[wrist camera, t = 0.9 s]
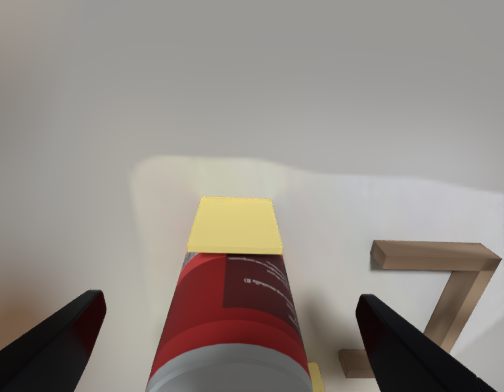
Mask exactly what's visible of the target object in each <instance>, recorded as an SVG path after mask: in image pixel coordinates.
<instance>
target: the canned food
mask: <svg viewBox="0 0 504 392" xmlns="http://www.w3.org/2000/svg"><path fill="white" fill-rule="evenodd" d="M145 392H313V387H312V381H311V377H310V372H309V368H308V363H307V357H306V353H305V349H304V345H303V340H302V336H301V332H300V328H299V324H298V319H297V315H296V311H295V307H294V303H293V298H292V294H291V290H290V286H289V282H288V277H287V273H286V269H285V265H284V260H283V256H282V254H247V253H207V252H187V254H186V256H185V260H184V263H183V266H182V269H181V273H180V276H179V279H178V283H177V286H176V289H175V292H174V296H173V299H172V302H171V306H170V309H169V312H168V315H167V319H166V322H165V325H164V328H163V332H162V335H161V338H160V342H159V345H158V348H157V351H156V355H155V358H154V361H153V365H152V369H151V373H150V376H149V380H148V383H147V386H146V390H145Z"/></svg>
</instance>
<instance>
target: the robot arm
mask: <svg viewBox="0 0 504 392" xmlns="http://www.w3.org/2000/svg"><path fill="white" fill-rule="evenodd" d="M105 315H106V303H105V299H104V295H103V292H102V291H101V290H88V291H86V292H85V293H83V294H82V295H80V296H79V297H77V298H76V299H74V300H73V301H71V302H70V303H68V304H67V305H66V306H64V307H63V308H61V309H60V310H58V311H57V312H55V313H54V314H53V315H51V316H50V317H48V318H47V319H45V320H44V321H42V322H41V323H40V324H38V325H37V326H35V327H34V328H32V329H31V330H29V331H28V332H27V333H25V334H23V335H22V336H21V337H19V338H18V339H16V340H15V341H13V342H12V343H10V344H9V345H8V346H6V347H5V348H3V349H2V350H0V392H74V390H75V388H76V386H77V384H78V382H79V380H80V378H81V376H82V374H83V371H84V369H85V367H86V365H87V363H88V361H89V358H90V356H91V353H92V350H93V348H94V345H95V342H96V339H97V337H98V334H99V331H100V328H101V326H102V323H103V320H104V318H105ZM356 319H357V322H358V326H359V329H360V333H361V336H362V340H363V343H364V347H365V350H366V354H367V357H368V360H369V363H370V366H371V368H372V371H373V373H374V376H375V379H376V381H377V384H378V386H379V389H380V391H381V392H497V391H496V390H494V389H493V388H492V387H491V386H489V385H488V384H487V383H486V382H484V381H483V380H482V379H480V378H479V377H477V376H476V375H475V374H474V373H473V372H471V371H470V370H469V369H468V368H466V367H465V366H464V365H463V364H461V363H460V362H459V361H457V360H456V359H455V358H454V357H452V356H451V355H450V354H449V353H447V352H446V351H445V350H443V349H442V348H441V347H440V346H438V345H437V344H436V343H435V342H433V341H432V340H431V339H429V338H428V337H427V336H426V335H424V334H423V333H422V332H421V331H419V330H418V329H417V328H415V327H414V326H413V325H412V324H410V323H409V322H408V321H407V320H405V319H404V318H403V317H401V316H400V315H399V314H398V313H396V312H395V311H394V310H393V309H391V308H390V307H389V306H387V305H386V304H385V303H384V302H382V301H381V300H380V299H379V298H377V297H376V296H375V295H373V294H362V295H361V296H360V298H359V301H358V304H357V308H356Z"/></svg>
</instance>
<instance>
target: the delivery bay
mask: <svg viewBox="0 0 504 392" xmlns="http://www.w3.org/2000/svg"><path fill="white" fill-rule="evenodd" d="M370 253H371V254H372V255H373V257H374V258H375V260H376V261H377V262H378V264H379V265H380V266H381V268H382V269H415V270H453V272H452V275H451V277H450V279H449V281H448V283H447V285H446V287H445V289H444V291H443V293H442V296H441V298H440V300H439V302H438V304H437V306H436V308H435V310H434V312H433V315H432V317H431V319H430V321H429V323H428V325H427V327H426V329H425V331H424V335H426V336H427V337H428V338H429V339H431V340H432V341H433V342H435V343H436V344H437V345H438V346H440V347H441V348H442V349H443V350H445V351H446V352H447V353H450V351H451V349H452V348H453V346H454V344H455V342H456V340H457V339H458V337H459V335H460V333H461V331H462V330H463V328H464V326H465V324H466V322H467V321H468V319H469V317H470V315H471V313H472V312H473V310H474V308H475V306H476V304H477V303H478V301H479V299H480V297H481V295H482V294H483V292H484V290H485V288H486V287H487V285H488V283H489V281H490V279H491V278H492V276H493V274H494V272H495V270H496V269H497V267H498V265H499V263H500V261H501V260H502V258H500V257H499V256H498V255H496V254H495V253H493V252H492V251H491V250H489V249H488V248H486V247H485V246H484V245H482V244H481V243H454V242H419V241H384V240H374V242H373V246H372V249H371V252H370ZM339 360H340V363H341V366H342V368H343V371H344V374H345V377H346V378H375V376H374V373H373V371H372V368H371V366H370V363H369V360H368V357H367V354H366V350H341V352H340V356H339Z"/></svg>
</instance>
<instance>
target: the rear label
mask: <svg viewBox="0 0 504 392" xmlns="http://www.w3.org/2000/svg"><path fill="white" fill-rule="evenodd" d="M187 252H207V253H247V254H282V253H283V246H282V242H281V238H280V233H279V229H278V225H277V221H276V217H275V213H274V209H273V205H272V201H271V199H257V198H231V197H204V196H202V198H201V201H200V204H199V207H198V211H197V214H196V217H195V220H194V224H193V227H192V230H191V233H190V237H189V240H188V243H187Z"/></svg>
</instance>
